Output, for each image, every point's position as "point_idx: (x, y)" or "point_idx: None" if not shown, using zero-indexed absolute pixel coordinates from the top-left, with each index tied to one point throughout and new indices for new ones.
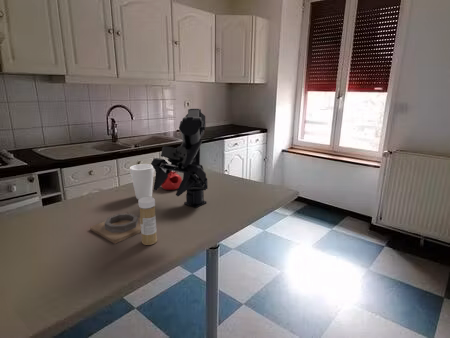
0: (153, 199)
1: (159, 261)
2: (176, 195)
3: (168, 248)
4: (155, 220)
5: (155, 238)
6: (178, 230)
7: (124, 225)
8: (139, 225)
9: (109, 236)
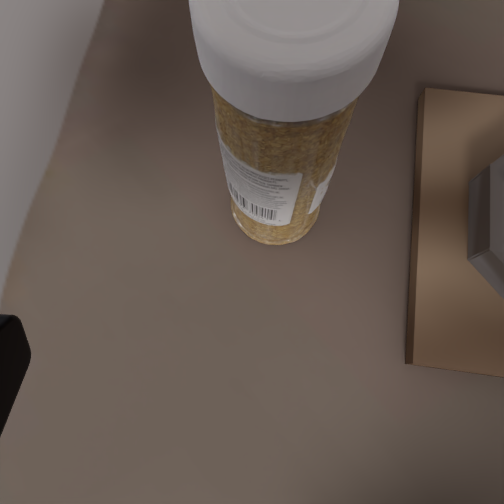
0: (210, 19)
1: (100, 100)
2: (17, 326)
3: (133, 205)
4: (226, 163)
5: (233, 203)
6: (216, 411)
7: (497, 169)
8: (472, 293)
9: (492, 102)
